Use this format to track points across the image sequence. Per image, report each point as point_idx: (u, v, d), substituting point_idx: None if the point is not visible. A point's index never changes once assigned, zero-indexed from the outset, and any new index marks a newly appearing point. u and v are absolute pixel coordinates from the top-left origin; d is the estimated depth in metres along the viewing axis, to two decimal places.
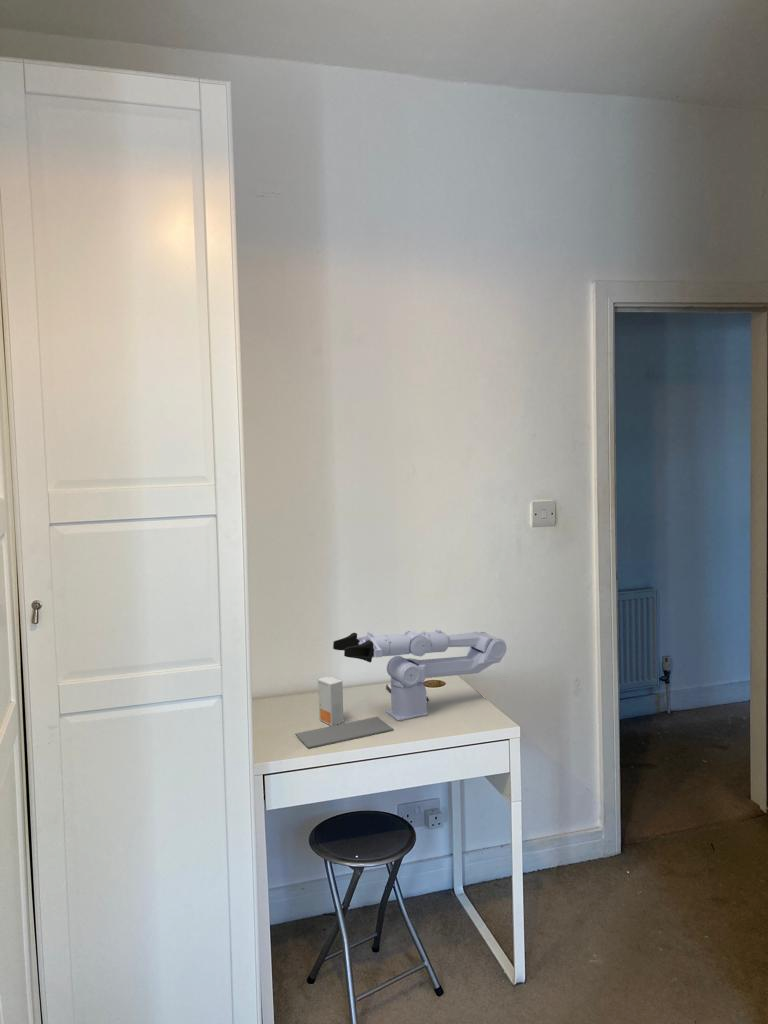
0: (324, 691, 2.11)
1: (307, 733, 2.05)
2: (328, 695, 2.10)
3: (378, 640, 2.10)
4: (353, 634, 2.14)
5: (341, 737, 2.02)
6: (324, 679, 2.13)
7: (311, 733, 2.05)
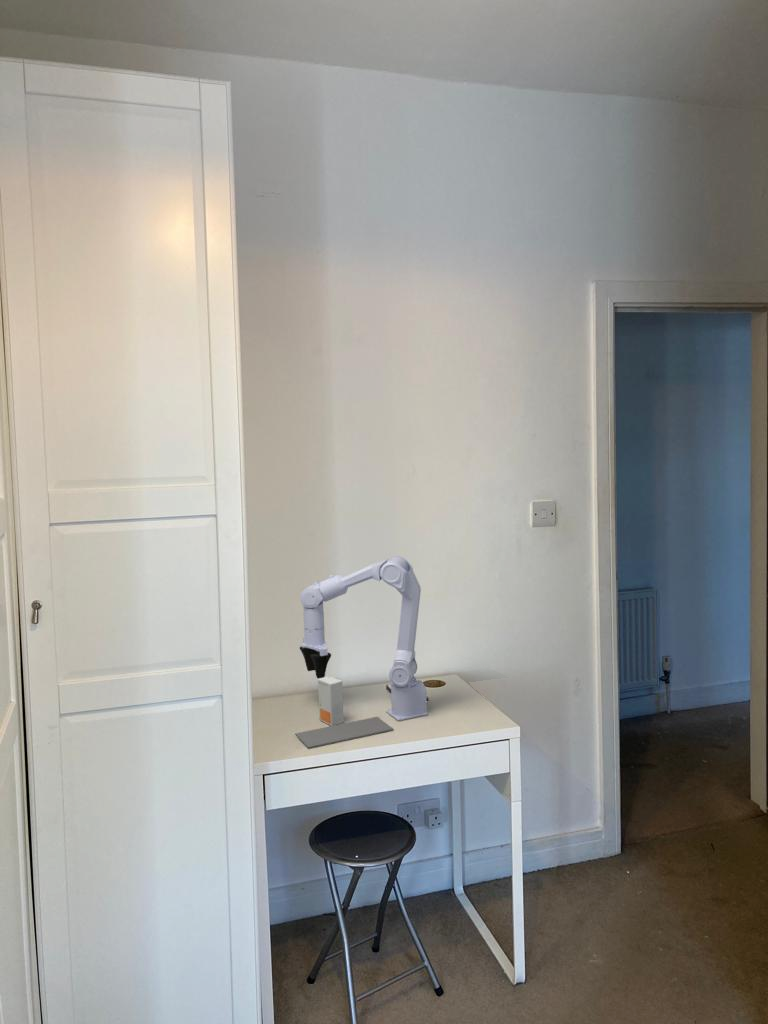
0: (324, 691, 2.11)
1: (307, 733, 2.05)
2: (328, 695, 2.10)
3: (310, 640, 2.19)
4: (301, 650, 2.25)
5: (341, 737, 2.02)
6: (324, 679, 2.13)
7: (311, 733, 2.05)
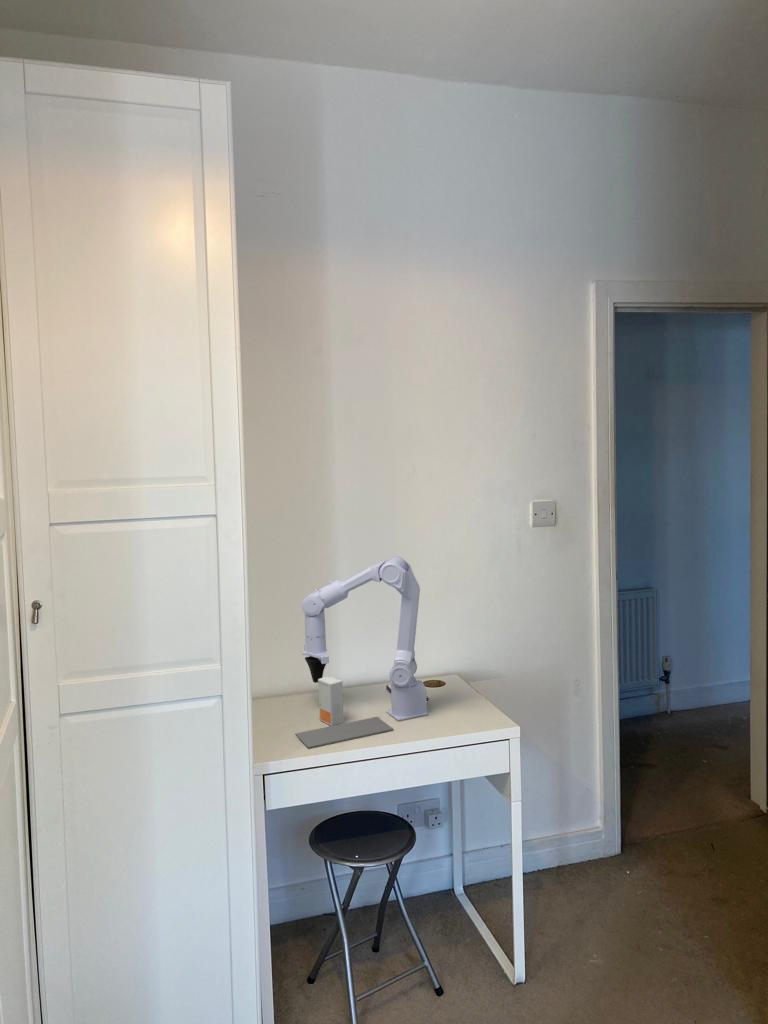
0: (324, 691, 2.11)
1: (307, 733, 2.05)
2: (328, 695, 2.10)
3: (311, 647, 2.18)
4: (307, 661, 2.21)
5: (341, 737, 2.02)
6: (324, 679, 2.13)
7: (311, 733, 2.05)
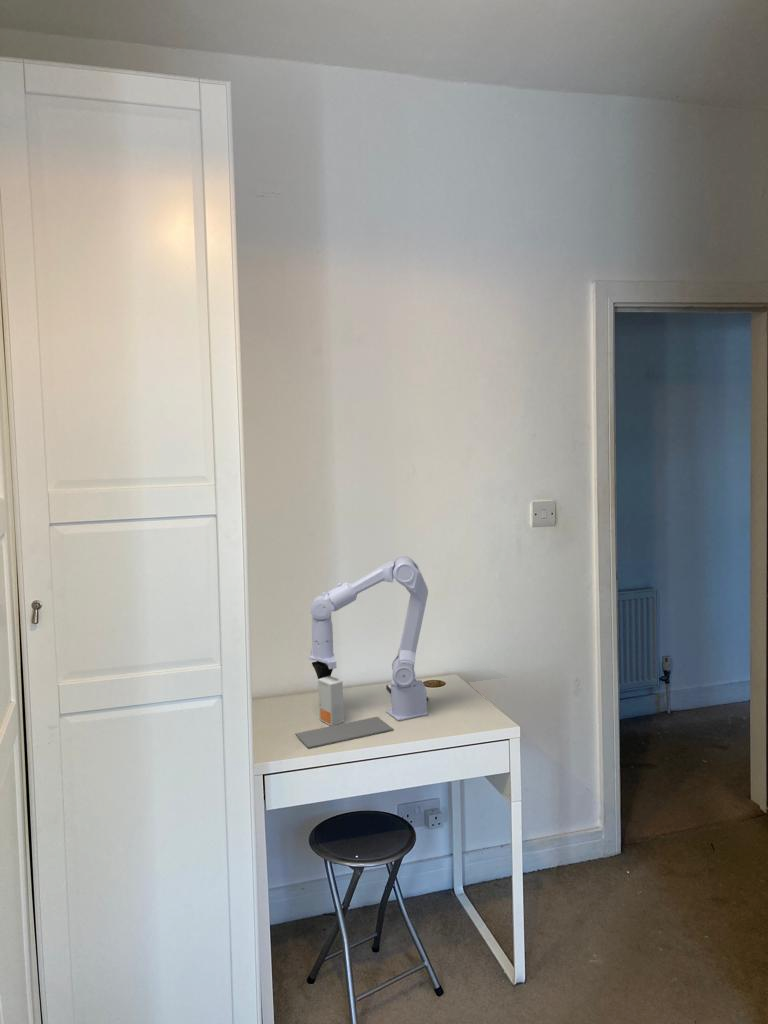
0: (325, 691, 2.11)
1: (307, 733, 2.05)
2: (328, 695, 2.10)
3: (318, 652, 2.13)
4: (313, 666, 2.16)
5: (341, 737, 2.02)
6: (324, 679, 2.13)
7: (311, 733, 2.05)
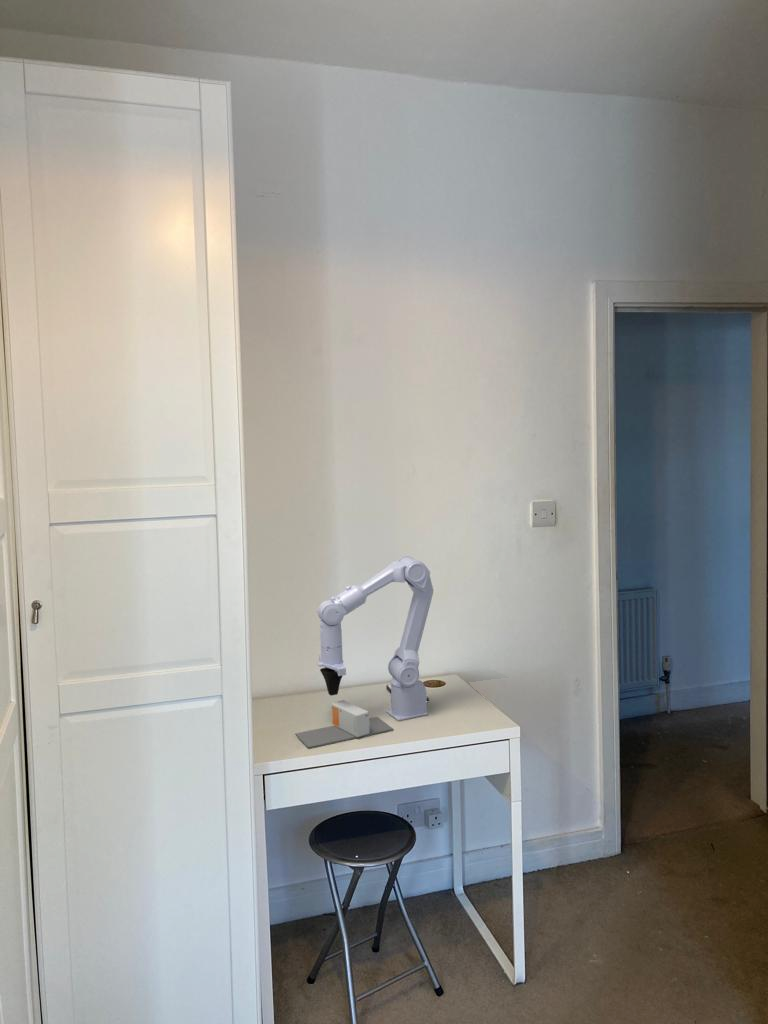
0: (350, 725, 2.03)
1: (307, 733, 2.05)
2: (349, 729, 2.04)
3: (327, 659, 2.07)
4: (322, 673, 2.10)
5: (341, 737, 2.02)
6: (360, 720, 2.01)
7: (311, 733, 2.05)
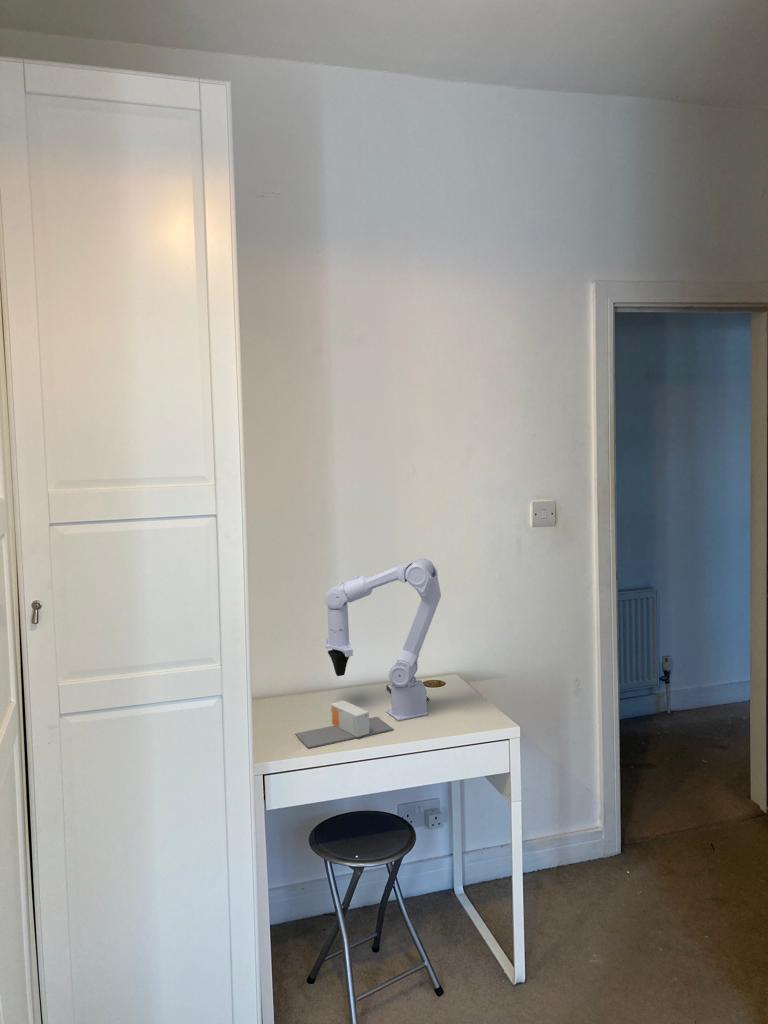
0: (350, 725, 2.03)
1: (307, 733, 2.05)
2: (349, 729, 2.04)
3: (334, 641, 2.18)
4: (329, 654, 2.21)
5: (341, 737, 2.02)
6: (359, 720, 2.01)
7: (311, 733, 2.05)
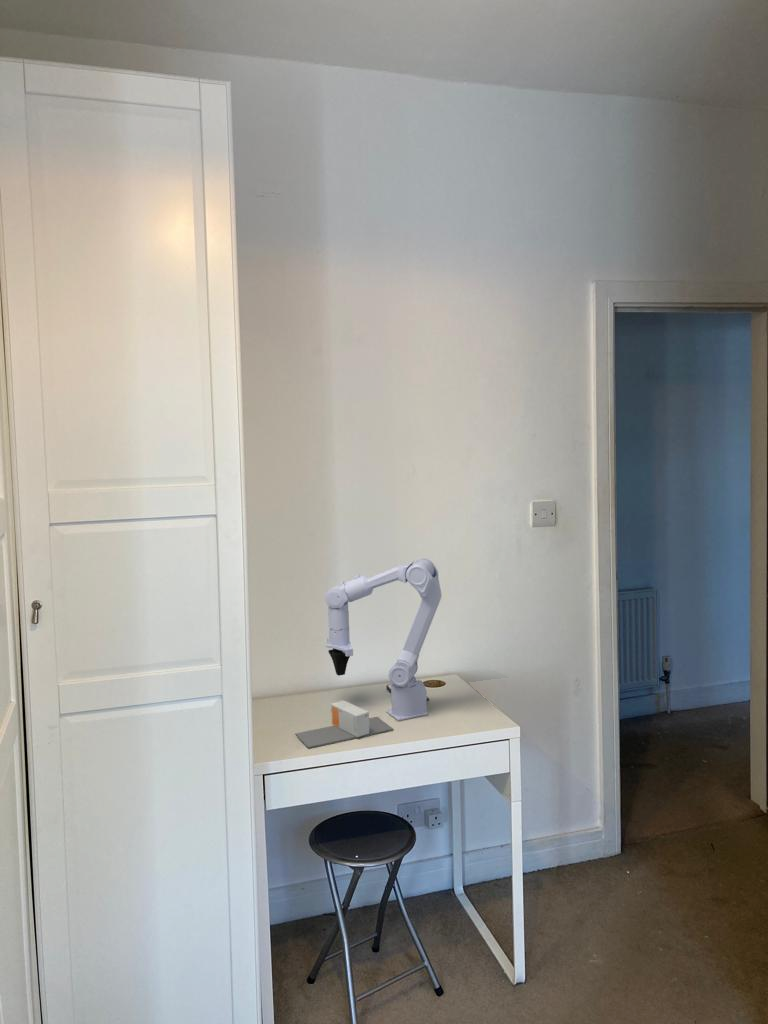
0: (350, 725, 2.03)
1: (307, 733, 2.05)
2: (349, 729, 2.04)
3: (335, 640, 2.18)
4: (330, 654, 2.21)
5: (341, 737, 2.02)
6: (359, 720, 2.01)
7: (311, 733, 2.05)
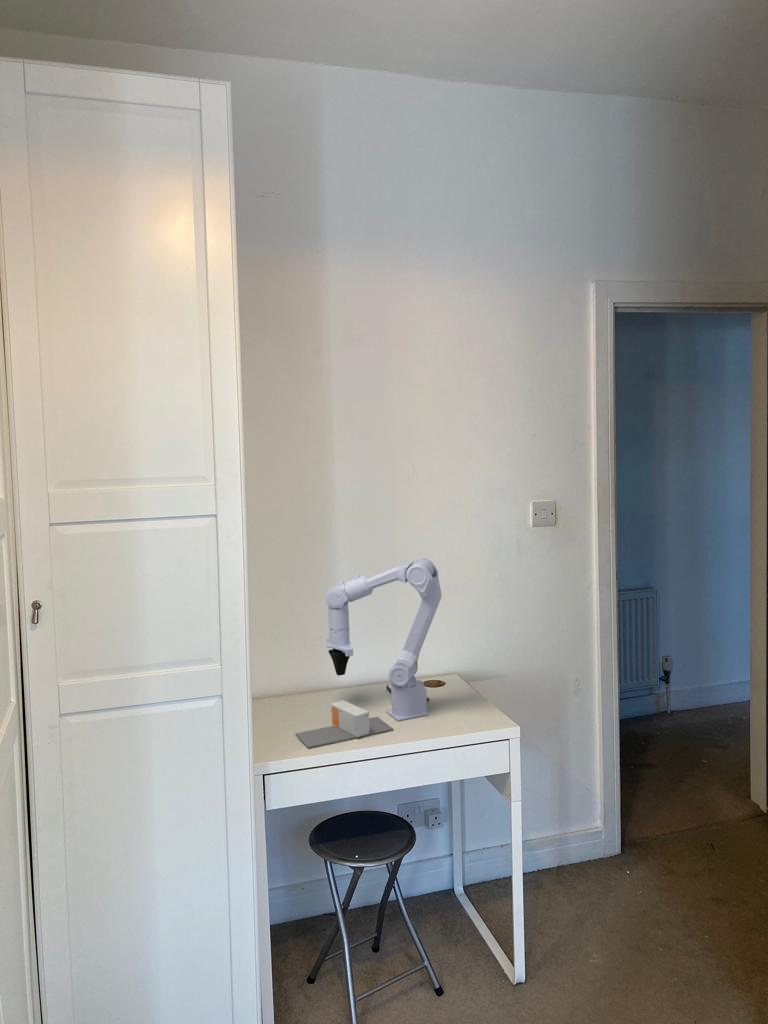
0: (350, 725, 2.03)
1: (307, 733, 2.05)
2: (349, 729, 2.04)
3: (335, 640, 2.18)
4: (330, 654, 2.21)
5: (341, 737, 2.02)
6: (359, 720, 2.01)
7: (311, 733, 2.05)
